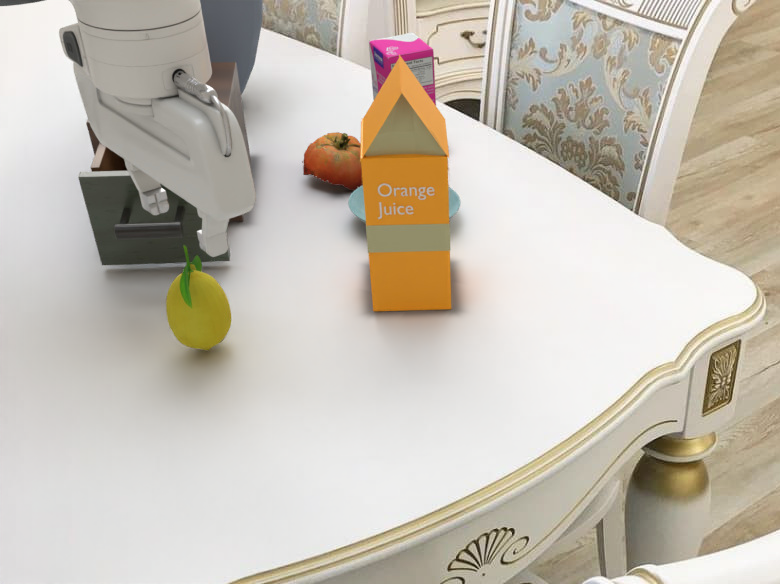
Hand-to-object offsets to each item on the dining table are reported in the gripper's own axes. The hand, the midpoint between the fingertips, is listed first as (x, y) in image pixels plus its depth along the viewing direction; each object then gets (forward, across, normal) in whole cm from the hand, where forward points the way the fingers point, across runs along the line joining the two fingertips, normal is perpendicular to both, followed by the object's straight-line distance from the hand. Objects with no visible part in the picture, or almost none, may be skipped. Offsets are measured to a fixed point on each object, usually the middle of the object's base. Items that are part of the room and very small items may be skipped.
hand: (185, 231), depth 92 cm
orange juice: (+12, -3, -21) cm, 24 cm away
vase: (+11, +49, -29) cm, 58 cm away
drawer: (+10, +19, -7) cm, 23 cm away
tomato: (+12, +22, -30) cm, 38 cm away
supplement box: (+12, +23, -41) cm, 49 cm away
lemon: (+11, 0, 0) cm, 11 cm away
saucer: (+12, +8, -29) cm, 32 cm away
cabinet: (+11, +30, -15) cm, 35 cm away
